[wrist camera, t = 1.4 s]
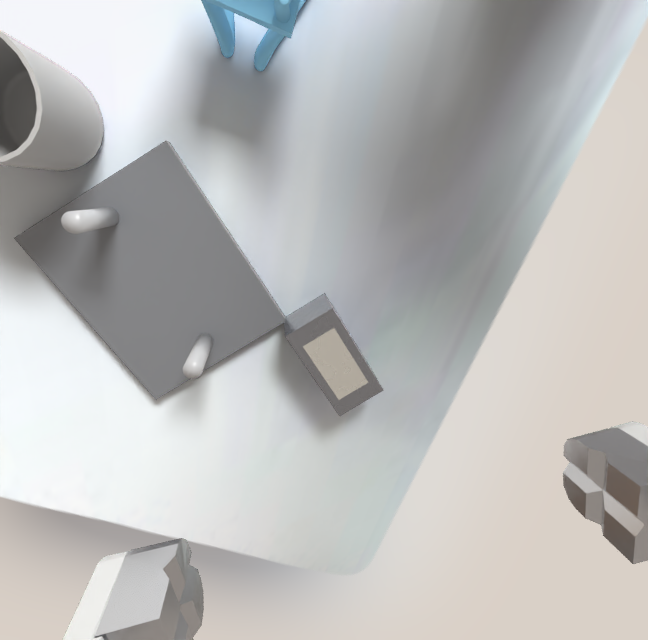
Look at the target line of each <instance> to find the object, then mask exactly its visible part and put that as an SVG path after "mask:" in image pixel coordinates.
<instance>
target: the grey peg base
mask: <svg viewBox="0 0 648 640" xmlns="http://www.w3.org/2000/svg"><path fill="white" fill-rule="evenodd" d="M14 239H15V240H16V241H17V242H18V243H19V244H20V246H21V247H22V248H23V249H24V250H25V251H26V252H27V254H28V255H29V256H30V257H31V258H32V259H33V260H34V262H35V263H36V264H37V265H38V266H39V267H40V268H41V270H42V271H43V272H44V273H45V274H46V275H47V276H48V277H49V279H50V280H51V281H52V282H53V283H54V284H55V285H56V287H57V288H58V289H59V290H60V291H61V292H62V293H63V295H64V296H65V297H66V298H67V299H68V300H69V301H70V303H71V304H72V305H73V306H74V307H75V308H76V309H77V310H78V312H79V313H80V314H81V315H82V316H83V317H84V318H85V320H86V321H87V322H88V323H89V324H90V325H91V326H92V328H93V329H94V330H95V331H96V332H97V333H98V334H99V336H100V337H101V338H102V339H103V340H104V341H105V342H106V344H107V345H108V346H109V347H110V348H111V349H112V350H113V351H114V353H115V354H116V355H117V356H118V357H119V358H120V359H121V361H122V362H123V363H124V364H125V365H126V366H127V367H128V369H129V370H130V371H131V372H132V373H133V374H134V375H135V377H136V378H137V379H138V380H139V381H140V382H141V383H142V385H143V386H144V387H145V388H146V389H147V390H148V391H149V392H150V394H151V395H152V396H153V397H154V398H155V399H158V398H160V397H161V396H163V395H165V394H166V393H168V392H170V391H171V390H173V389H174V388H176V387H178V386H179V385H181V384H183V383H184V382H186V381H188V380H189V379H195V378H198V377H199V376H200V375H201V374H202V372H203V371H204V370H206V369H208V368H209V367H211V366H213V365H214V364H216V363H218V362H219V361H221V360H223V359H224V358H226V357H228V356H229V355H231V354H233V353H234V352H236V351H237V350H239V349H241V348H242V347H244V346H246V345H247V344H249V343H251V342H252V341H254V340H256V339H257V338H259V337H261V336H262V335H264V334H266V333H267V332H269V331H271V330H272V329H274V328H276V327H277V326H279V325H281V324H282V323H284V322H286V317H285V315H284V314H283V312H282V311H281V309H280V308H279V306H278V305H277V303H276V302H275V300H274V299H273V297H272V296H271V294H270V293H269V291H268V290H267V288H266V287H265V285H264V284H263V282H262V281H261V279H260V278H259V276H258V275H257V273H256V272H255V270H254V269H253V267H252V266H251V264H250V263H249V261H248V260H247V258H246V257H245V255H244V254H243V252H242V251H241V249H240V248H239V246H238V245H237V243H236V242H235V240H234V238H233V237H232V235H231V234H230V232H229V231H228V229H227V228H226V226H225V225H224V223H223V222H222V220H221V219H220V217H219V216H218V214H217V213H216V211H215V210H214V208H213V207H212V205H211V204H210V202H209V201H208V199H207V198H206V196H205V195H204V193H203V192H202V190H201V189H200V187H199V186H198V184H197V183H196V181H195V180H194V178H193V177H192V175H191V174H190V172H189V171H188V169H187V168H186V166H185V165H184V163H183V162H182V160H181V159H180V157H179V156H178V154H177V153H176V151H175V150H174V148H173V147H172V145H171V143H170V142H168V141H165V142H163V143H162V144H160V145H158V146H157V147H155V148H154V149H152V150H151V151H149V152H148V153H146V154H144V155H143V156H141V157H140V158H138V159H137V160H135V161H133V162H132V163H130V164H129V165H127V166H126V167H124V168H123V169H121V170H119V171H118V172H116V173H115V174H113V175H112V176H110V177H109V178H107V179H105V180H104V181H102V182H101V183H99V184H98V185H96V186H95V187H93V188H91V189H90V190H88V191H87V192H85V193H84V194H82V195H81V196H79V197H77V198H76V199H74V200H73V201H71V202H70V203H68V204H66V205H65V206H63V207H62V208H60V209H59V210H57V211H56V212H54V213H52V214H51V215H49V216H48V217H46V218H45V219H43V220H42V221H40V222H38V223H37V224H35V225H34V226H32V227H31V228H29V229H28V230H26V231H24V232H23V233H21V234H20V235H18V236H17V237H15V238H14Z"/></svg>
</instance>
